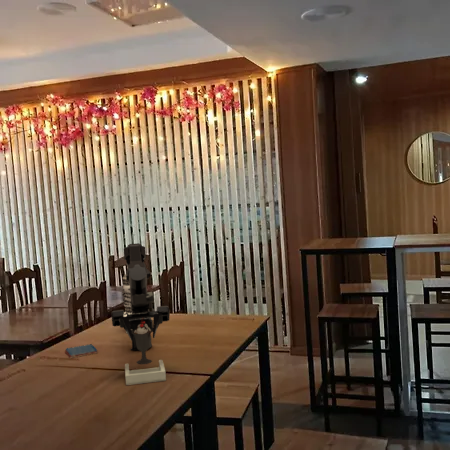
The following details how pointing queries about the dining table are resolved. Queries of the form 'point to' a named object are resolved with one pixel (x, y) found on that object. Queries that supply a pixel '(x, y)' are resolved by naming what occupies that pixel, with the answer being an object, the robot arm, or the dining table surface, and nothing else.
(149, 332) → the sundae
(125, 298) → the decorative candle
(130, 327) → the robot arm
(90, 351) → the woven mat
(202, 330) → the dining table surface
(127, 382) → the end cap
